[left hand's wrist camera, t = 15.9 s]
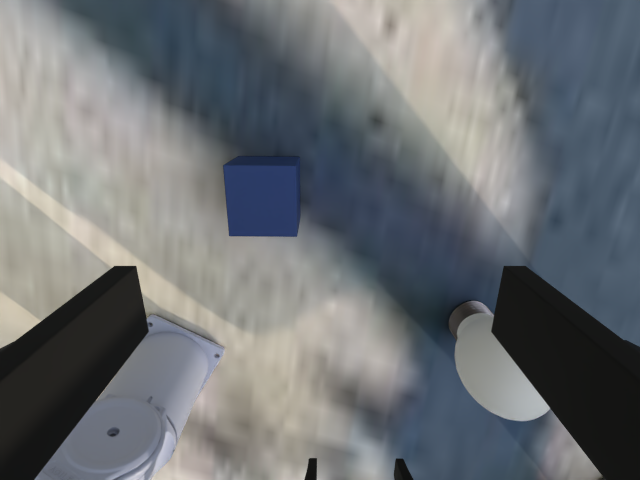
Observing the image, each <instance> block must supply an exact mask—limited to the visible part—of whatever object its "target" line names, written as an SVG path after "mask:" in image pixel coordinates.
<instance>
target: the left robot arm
mask: <svg viewBox="0 0 640 480" xmlns="http://www.w3.org/2000/svg"><path fill="white" fill-rule="evenodd" d="M148 332H149V329H148V324H147V319H146V314H145V309H144V304H143V299H142V294H141V288H140V283H139V278H138V273H137V268H136V266H114V267H113V268H111V269H110V270H109V271H107V272H106V273H105V274H103V275H102V276H101V277H99V278H98V279H97V280H95V281H94V282H93V283H92V284H90V285H89V286H88V287H86V288H85V289H84V290H82V291H81V292H80V293H78V294H77V295H76V296H74V297H73V298H72V299H70V300H69V301H68V302H66V303H65V304H64V305H62V306H61V307H60V308H58V309H57V310H56V311H54V312H53V313H52V314H50V315H49V316H48V317H47V318H45V319H44V320H43V321H41V322H40V323H39V324H37V325H36V326H35V327H33V328H32V329H31V330H29V331H28V332H27V333H25V334H24V335H23V336H21V337H20V338H19V339H17V340H16V341H15V342H12V343H10V344H8V345H6V346H4V347H2V348H0V480H34V479H35V478H36V477H37V476H38V474H39V473H40V472H41V470H42V469H43V468H44V467H45V465H46V464H47V463H48V461H49V460H50V459H51V458H52V456H53V455H54V454H55V452H56V451H57V450H58V449H59V447H60V446H61V445H62V443H63V442H64V441H65V439H66V438H67V437H68V436H69V434H70V433H71V432H72V430H73V429H74V428H75V427H76V425H77V424H78V423H79V421H80V420H81V419H82V418H83V416H84V415H85V414H86V412H87V411H88V410H89V408H90V407H91V406H92V405H93V403H94V402H95V401H96V399H97V398H98V397H99V396H100V394H101V393H102V392H103V390H104V389H105V388H106V387H107V385H108V384H109V383H110V381H111V380H112V379H113V377H114V376H115V375H116V374H117V372H118V371H119V370H120V368H121V367H122V366H123V365H124V363H125V362H126V361H127V359H128V358H129V357H130V356H131V354H132V353H133V352H134V350H135V349H136V348H137V347H138V345H139V344H140V343H141V341H142V340H143V339H144V337H145V336H146V335H147V334H148ZM491 332H492V334H493V335H494V336H495V337H496V339H497V340H498V341H499V343H500V344H501V345H502V347H503V348H504V349H505V350H506V352H507V353H508V354H509V356H510V357H511V358H512V359H513V361H514V362H515V363H516V365H517V366H518V367H519V368H520V370H521V371H522V372H523V374H524V375H525V376H526V377H527V379H528V380H529V381H530V383H531V384H532V385H533V387H534V388H535V389H536V390H537V392H538V393H539V394H540V396H541V397H542V398H543V399H544V401H545V402H546V403H547V405H548V406H549V407H550V408H551V410H552V411H553V412H554V414H555V415H556V416H557V418H558V419H559V420H560V421H561V423H562V424H563V425H564V427H565V428H566V429H567V430H568V432H569V433H570V434H571V436H572V437H573V438H574V439H575V441H576V442H577V443H578V445H579V446H580V447H581V449H582V450H583V451H584V452H585V454H586V455H587V456H588V458H589V459H590V460H591V461H592V463H593V464H594V465H595V467H596V468H597V469H598V470H599V472H600V473H601V474H602V476H603V477H604V479H603V480H640V347H639V346H637V345H635V344H633V343H631V342H629V341H627V340H623V339H621V338H620V337H619V336H617V335H616V334H615V333H613V332H612V331H611V330H609V329H608V328H607V327H605V326H604V325H603V324H601V323H600V322H599V321H597V320H596V319H595V318H593V317H592V316H591V315H590V314H588V313H587V312H586V311H584V310H583V309H582V308H580V307H579V306H578V305H576V304H575V303H574V302H572V301H571V300H570V299H568V298H567V297H566V296H564V295H563V294H562V293H560V292H559V291H558V290H556V289H555V288H554V287H552V286H551V285H550V284H548V283H547V282H546V281H545V280H543V279H542V278H541V277H539V276H538V275H537V274H535V273H534V272H533V271H531V270H530V269H529V268H527V267H526V266H504V268H503V273H502V278H501V283H500V288H499V294H498V299H497V304H496V309H495V314H494V319H493V324H492V329H491Z"/></svg>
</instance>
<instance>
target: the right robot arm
mask: <svg viewBox="0 0 640 480" xmlns="http://www.w3.org/2000/svg"><path fill="white" fill-rule="evenodd" d="M149 322H150V323H152V324H153V325H151V324H150V323H149ZM147 324H148V329H149V332H148V334H147V335H146V336H145V337H144V339H143V340H142V341H141V343H140V344H139V345H138V347H137V348H136V349H135V350H134V352H133V353H132V354H131V356H130V357H129V358H128V359H127V361H126V362H125V363H124V365H123V366H122V368H121V369H120V370H119V371H118V373H117V374H116V375H115V377H114V378H113V379H112V381H111V382H110V383H109V385H108V386H107V387H106V389H105V390H104V391H103V393H102V394H101V395H100V397H99V398H98V399H97V400H96V401H95V402H94V403H93V405H92V406H91V407H90V408H89V410H88V411H87V412H86V414H85V415H84V416H83V418H82V419H81V420H80V421H79V423H78V424H77V425H76V427H75V428H74V429H73V430H72V432H71V433H70V434H69V436H68V437H67V438H66V439H65V441H64V442H63V443H62V445H61V446H60V447H59V449H58V450H57V451H56V452H55V454H54V455H53V456H52V458H51V459H50V460H49V461H48V463H47V464H46V465H45V467H44V468H43V469H42V470H41V472H40V473H39V474H38V476H37V477H36V478H35V479H34V480H151V479H152V477H153V475H154V474H155V473H156V472H157V471H158V470H160V469H161V468H162V467H163V466H164V465H165V464H166V463H167V462H168V461H169V460H170V458H171V457H172V455H173V452H174V450H175V447H176V445H177V443H178V440H179V438H180V435H181V433H182V431H183V428H184V426H185V424H186V421H187V419H188V416H189V414H190V412H191V409H192V407H193V405H194V402H195V400H196V398H197V396H198V395H199V393H200V392H201V390H202V388H203V387H204V385H205V384H206V382H207V380H208V379H209V377H210V375H211V374H212V372H213V371H214V369H215V367H216V366H217V364H218V362H219V361H220V359H221V358H222V356H223V354H224V352H225V349H224V347H222V346H220V345H218V344H216V343H214V342H212V341H210V340H207V339H205V338H203V337H201V336H199V335H197V334H195V333H193V332H190V331H188V330H186V329H184V328H182V327H180V326H178V325H176V324H174V323H171V322H169V321H167V320H165V319H163V318H161V317H159V316H157V315H154V314H152V315H150V316H149V317H148V318H147ZM216 354H219V355H216ZM394 478H395V480H413V478H412V476H411V474H410V472H409V470H408V468H407V466H406V464H405V462H404V460H403V459H396V462H395V470H394ZM305 480H317V458H310V459H309V462H308V468H307V473H306V476H305Z"/></svg>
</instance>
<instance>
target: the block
mask: <svg viewBox="0 0 640 480" xmlns="http://www.w3.org/2000/svg"><path fill="white" fill-rule="evenodd" d="M223 169H224V181H225V193H226V204H227V216H228V227H229V236H283V237H297V234H298V228H299V222H300V157H284V156H238V157H236V158H235V159H233V160H231V161H230V162H228V163H226V164H225V165H223Z"/></svg>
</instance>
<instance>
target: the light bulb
mask: <svg viewBox="0 0 640 480" xmlns="http://www.w3.org/2000/svg"><path fill="white" fill-rule="evenodd" d="M493 319H494V314H493V313H492V312H491V311H490V310H489V309H488V307H487V306H485V305H484V304H483V303H481V302H478V301H469V302H466V303H464V304H462V305H460V306H459V307H457V308H456V309H455V310H454V311H453V313H452V314H451V316H450V319H449V328H450V331H451V332H452V334H453V336H454V337H455V339H456V341H457V342H456V345H455V362H456V368H457V371H458V374H459V376H460V378H461V381H462V383H463V385H464V386H465V388H466V389H467V391H468V392H469V393H470V394H471V396H472V397H473V398H474V399H475V400H476V401H477V402H478V403H479V404H480V405H482V406H483V407H484V408H486V409H487V410H489V411H490V412H492V413H494V414H496V415H498V416H500V417H503V418H505V419H509V420H516V421H528V420H533V419H536V418H538V417H540V416H542V415H543V414H545V413H546V412H547V411H548V410H549V409H550V407H549V406H548V405H547V403H546V402H545V401H544V399H543V398H542V397H541V396H540V394H539V393H538V392H537V390H536V389H535V388H534V387H533V385H532V384H531V383H530V381H529V380H528V379H527V377H526V376H525V375H524V374H523V372H522V371H521V370H520V368H519V367H518V366H517V365H516V363H515V362H514V361H513V359H512V358H511V357H510V356H509V354H508V353H507V352H506V350H505V349H504V348H503V347H502V345H501V344H500V343H499V341H498V340H497V339H496V337H495V336H494V335H493V334H492V332H491V329H492V324H493Z"/></svg>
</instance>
